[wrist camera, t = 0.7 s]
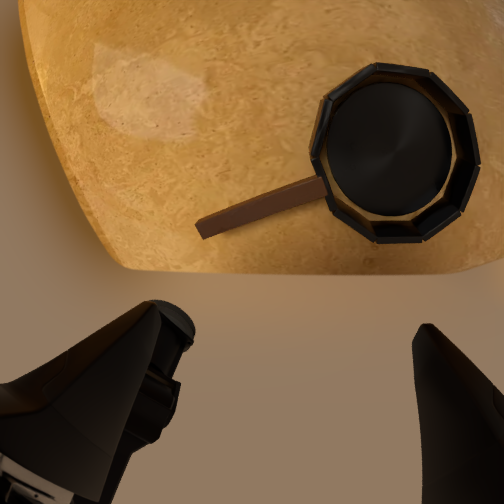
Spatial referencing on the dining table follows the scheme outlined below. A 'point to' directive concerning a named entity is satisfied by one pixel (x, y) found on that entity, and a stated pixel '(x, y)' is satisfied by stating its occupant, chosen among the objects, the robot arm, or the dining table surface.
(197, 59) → the dining table surface
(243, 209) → the frying pan
